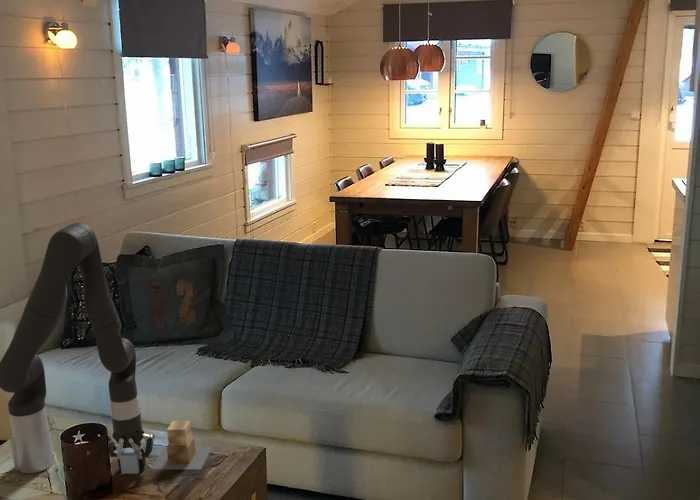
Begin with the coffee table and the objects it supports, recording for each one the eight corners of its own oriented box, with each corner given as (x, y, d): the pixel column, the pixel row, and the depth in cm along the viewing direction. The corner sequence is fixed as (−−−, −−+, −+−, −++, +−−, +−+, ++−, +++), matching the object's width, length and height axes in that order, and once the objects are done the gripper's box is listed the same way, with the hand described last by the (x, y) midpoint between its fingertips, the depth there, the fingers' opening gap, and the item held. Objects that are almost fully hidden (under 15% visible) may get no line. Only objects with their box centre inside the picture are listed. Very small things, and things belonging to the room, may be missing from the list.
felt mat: (150, 471, 203) (150, 469, 203) (164, 448, 215) (164, 446, 215) (201, 471, 202) (200, 469, 202) (212, 448, 214) (212, 446, 213)
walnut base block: (168, 463, 206) (166, 447, 204) (174, 452, 211) (173, 436, 210) (189, 463, 205) (188, 447, 204) (195, 452, 211) (194, 436, 210)
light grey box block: (121, 475, 202) (119, 455, 200) (127, 466, 206) (125, 447, 204) (138, 475, 201) (135, 455, 200) (143, 466, 206) (141, 447, 204)
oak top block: (168, 446, 205) (167, 429, 204) (174, 437, 210) (172, 420, 208) (186, 446, 204) (185, 429, 203) (191, 437, 209) (190, 420, 208)
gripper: (94, 419, 196) (102, 476, 200) (147, 419, 195) (153, 477, 199) (105, 406, 203) (112, 462, 208) (156, 406, 202) (162, 462, 206)
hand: (132, 469), depth 203 cm, fingers closed on light grey box block, 4 cm apart
